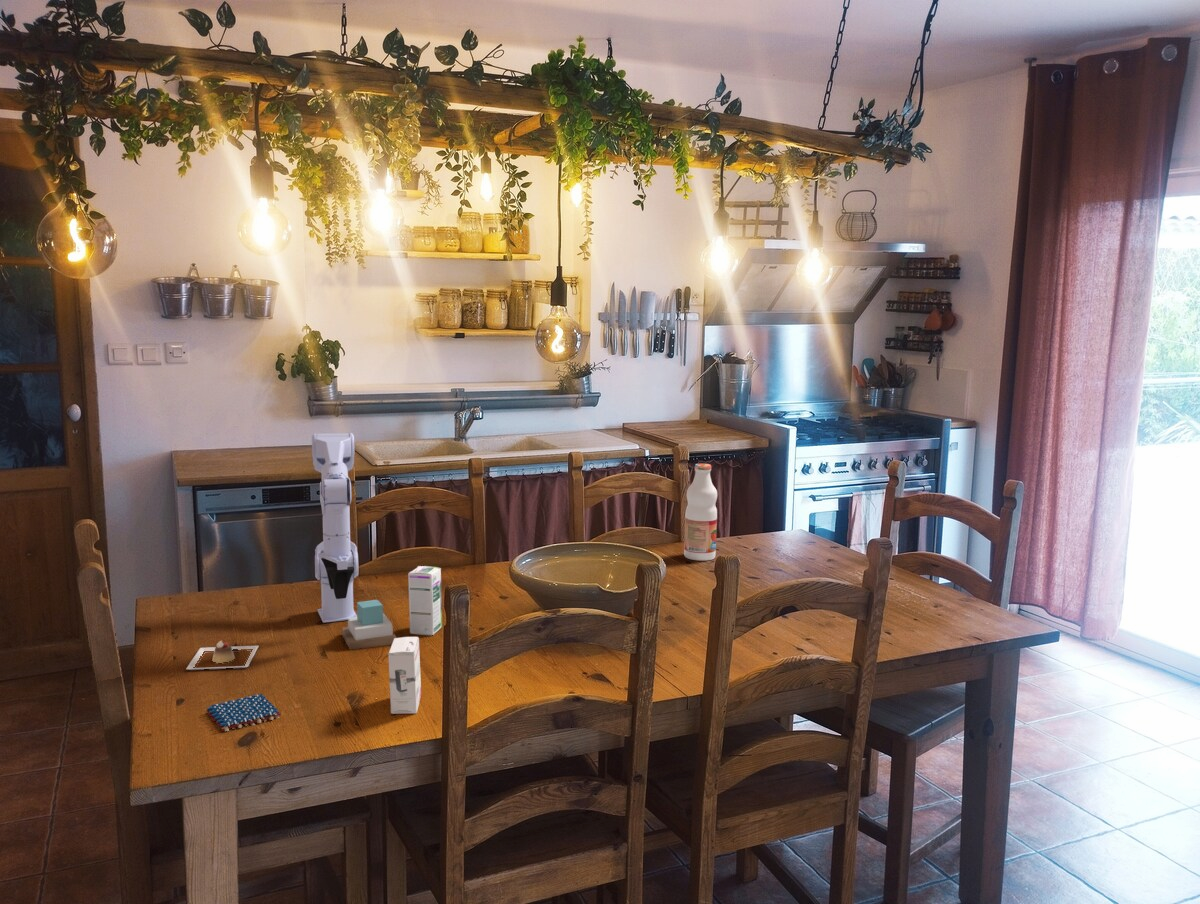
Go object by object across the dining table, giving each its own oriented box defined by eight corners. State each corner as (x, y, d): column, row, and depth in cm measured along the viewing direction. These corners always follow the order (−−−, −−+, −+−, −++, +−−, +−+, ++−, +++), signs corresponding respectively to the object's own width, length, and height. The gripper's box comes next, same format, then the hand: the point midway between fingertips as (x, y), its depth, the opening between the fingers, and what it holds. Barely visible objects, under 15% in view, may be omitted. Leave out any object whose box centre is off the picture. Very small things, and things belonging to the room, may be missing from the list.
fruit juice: (679, 553, 289) (683, 462, 284) (709, 552, 291) (713, 461, 286) (689, 561, 280) (692, 467, 275) (719, 560, 282) (723, 467, 277)
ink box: (394, 695, 183) (393, 636, 181) (421, 695, 183) (420, 635, 181) (388, 715, 174) (387, 652, 172) (416, 714, 175) (416, 652, 173)
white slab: (348, 628, 214) (347, 618, 213) (383, 623, 217) (383, 613, 217) (355, 640, 206) (355, 629, 206) (392, 635, 210) (392, 624, 210)
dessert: (259, 650, 206) (258, 629, 205) (248, 671, 194) (247, 649, 193) (200, 652, 204) (199, 631, 203) (185, 674, 192) (184, 651, 191)
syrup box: (433, 636, 215) (432, 573, 213) (408, 633, 216) (407, 571, 214) (442, 627, 220) (442, 566, 218) (418, 625, 222) (417, 565, 219)
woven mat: (283, 720, 172) (282, 710, 172) (222, 736, 166) (221, 725, 165) (264, 701, 180) (263, 690, 180) (205, 715, 174) (204, 704, 174)
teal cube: (357, 619, 212) (356, 602, 212) (377, 616, 214) (376, 599, 214) (362, 625, 208) (362, 607, 208) (383, 622, 210) (382, 605, 210)
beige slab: (342, 637, 215) (342, 627, 214) (387, 632, 219) (386, 621, 218) (349, 653, 206) (349, 642, 205) (396, 647, 210) (395, 636, 209)
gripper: (313, 527, 213) (314, 586, 216) (322, 542, 200) (324, 604, 202) (345, 524, 216) (346, 582, 218) (356, 539, 203) (357, 601, 205)
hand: (338, 593), depth 211 cm, fingers open, 7 cm apart
